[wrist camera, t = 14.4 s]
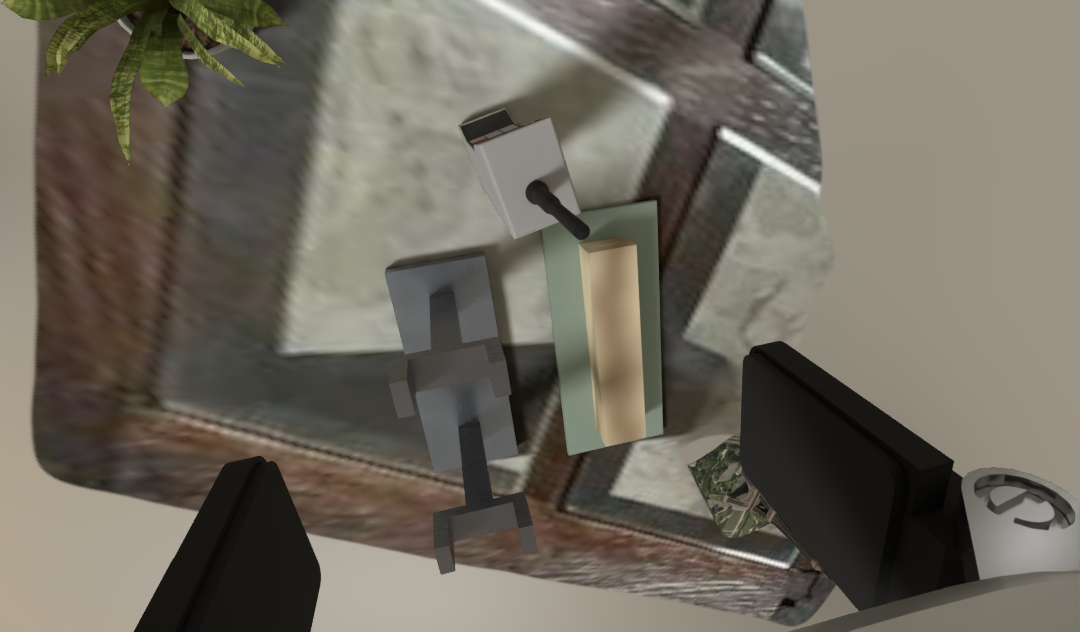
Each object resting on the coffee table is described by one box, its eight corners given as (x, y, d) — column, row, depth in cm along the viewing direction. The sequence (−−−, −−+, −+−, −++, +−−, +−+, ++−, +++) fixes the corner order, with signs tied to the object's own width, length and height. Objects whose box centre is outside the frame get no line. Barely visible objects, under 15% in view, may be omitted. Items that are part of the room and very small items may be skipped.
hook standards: (483, 252, 44) (510, 323, 30) (516, 446, 52) (548, 571, 38) (385, 268, 43) (368, 350, 29) (434, 464, 51) (438, 599, 37)
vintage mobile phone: (503, 107, 40) (608, 126, 17) (526, 170, 42) (645, 261, 19) (457, 124, 40) (502, 167, 17) (482, 188, 42) (550, 299, 19)
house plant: (357, 133, 39) (316, 159, 24) (148, 146, 36) (-40, 182, 22) (316, -109, 33) (229, -271, 18) (65, -112, 31) (-267, -300, 16)
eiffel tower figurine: (682, 462, 58) (751, 559, 46) (764, 416, 58) (854, 501, 46) (725, 543, 64) (794, 648, 52) (798, 502, 64) (885, 597, 52)
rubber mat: (654, 199, 45) (656, 200, 45) (660, 430, 55) (662, 433, 54) (539, 218, 44) (541, 220, 43) (567, 451, 54) (568, 455, 53)
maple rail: (623, 235, 45) (636, 244, 42) (634, 419, 53) (646, 437, 50) (578, 243, 45) (588, 253, 42) (596, 428, 52) (605, 446, 50)
